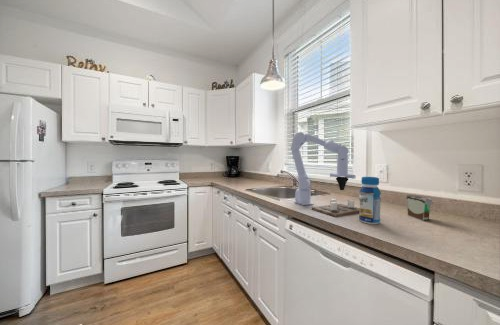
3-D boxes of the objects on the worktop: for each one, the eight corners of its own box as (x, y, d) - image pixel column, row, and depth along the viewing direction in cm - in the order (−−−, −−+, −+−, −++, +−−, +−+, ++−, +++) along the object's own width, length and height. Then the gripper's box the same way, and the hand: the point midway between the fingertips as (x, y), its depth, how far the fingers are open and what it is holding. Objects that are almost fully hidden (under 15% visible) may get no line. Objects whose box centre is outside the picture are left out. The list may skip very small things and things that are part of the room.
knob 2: (330, 209, 106) (330, 202, 106) (333, 208, 107) (333, 201, 107) (333, 210, 104) (333, 203, 104) (337, 209, 106) (337, 202, 105)
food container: (439, 222, 92) (440, 200, 91) (425, 222, 92) (426, 199, 92) (417, 214, 104) (418, 195, 104) (405, 214, 104) (405, 194, 104)
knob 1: (330, 205, 114) (330, 199, 114) (333, 205, 116) (333, 198, 116) (333, 206, 113) (333, 199, 113) (336, 205, 114) (336, 199, 114)
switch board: (311, 209, 114) (311, 206, 114) (339, 205, 123) (339, 203, 123) (335, 216, 99) (335, 213, 99) (364, 211, 109) (364, 209, 109)
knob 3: (347, 206, 112) (347, 200, 112) (350, 206, 113) (351, 199, 113) (350, 207, 110) (351, 200, 110) (354, 207, 111) (354, 200, 111)
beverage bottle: (384, 225, 87) (384, 178, 87) (362, 224, 89) (363, 178, 88) (376, 219, 95) (376, 176, 95) (356, 218, 97) (356, 176, 97)
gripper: (327, 166, 123) (326, 189, 123) (351, 167, 111) (350, 192, 111) (333, 166, 127) (333, 188, 127) (357, 167, 115) (357, 191, 116)
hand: (342, 190), depth 120 cm, fingers closed
